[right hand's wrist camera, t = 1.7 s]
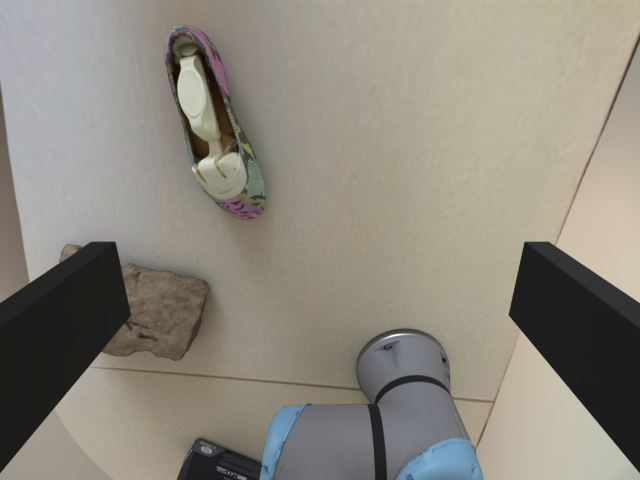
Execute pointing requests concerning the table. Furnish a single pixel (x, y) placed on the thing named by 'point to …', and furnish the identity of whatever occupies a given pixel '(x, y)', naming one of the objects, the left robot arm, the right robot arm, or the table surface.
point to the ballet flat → (212, 125)
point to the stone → (156, 311)
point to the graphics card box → (217, 464)
